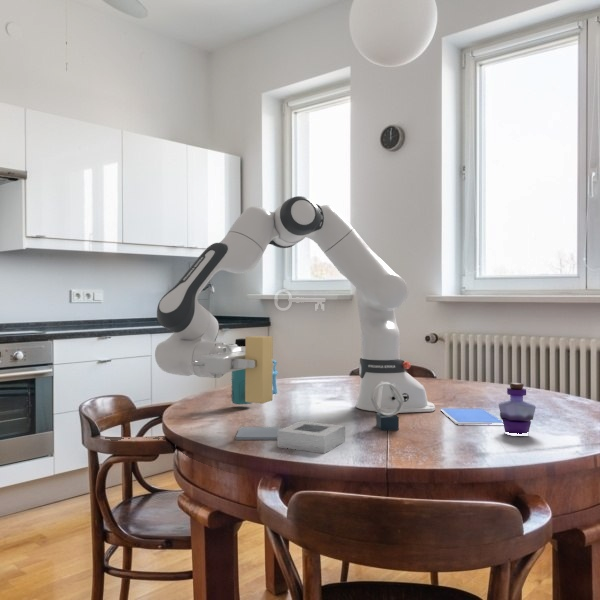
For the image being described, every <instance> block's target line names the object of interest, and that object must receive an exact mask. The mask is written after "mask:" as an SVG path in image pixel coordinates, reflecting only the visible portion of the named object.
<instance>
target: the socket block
mask: <svg viewBox="0 0 600 600" xmlns="http://www.w3.org/2000/svg"><path fill="white" fill-rule="evenodd" d="M276 441H277V443H276V444H277V445H276V446H277V448H281V449H287V448H288V450H295V449H296V450H295V451H302V450H303V451H304V452H311V453H317V454H318V453H319V454H326V453H328V452H330V451H331V450H333V449H335V448H336V447H338V446H340V445H342V444H343V443H345V442H346V425H342V424H334V423H333V424H331V423H330V424H329V423H325V422H323V423H322V422H315V421H314V422H313V421H305V420H304V421H303V420H300V421H297V422H294V423H293V424H290V425H288V426H285V427H283V428H281V429H280V430H278V431H277V440H276Z"/></svg>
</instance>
